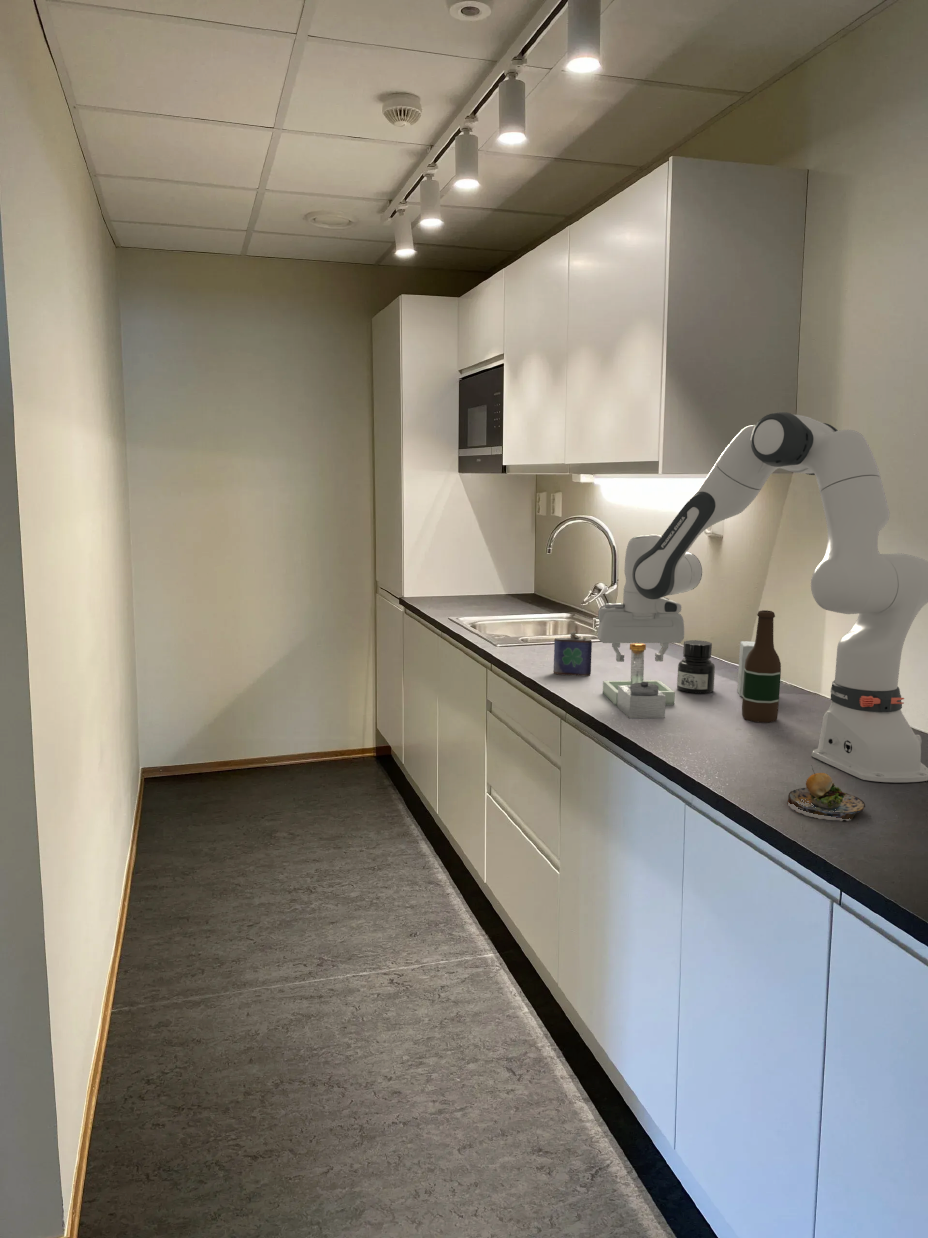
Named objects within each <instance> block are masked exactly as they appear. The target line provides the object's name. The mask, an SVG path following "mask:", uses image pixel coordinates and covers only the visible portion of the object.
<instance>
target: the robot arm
mask: <svg viewBox="0 0 928 1238" xmlns="http://www.w3.org/2000/svg"><path fill="white" fill-rule="evenodd" d="M868 443H869V442H868V441H867V440H866V437H864V435H863V434H862V433H860V432H859V431H856V430H853V429H841V430H838V428H836V427H834V426H833V425H831V424H829V423H825V422H821V421H819V420H817V419H814V418H812V417H810V416H806V415H801V414H793V413H791V412H785V411H779V412H772V413H768V414H766V415H764V416H762V418H760V419H759V420H758V421H757V422H756V424H753V425H748V426H745V427H744V428H742V429H741V430H740V431H739V432H738V433H737V434H736V435H735V436H734V438H732V440H731V441H730V442H729V444H728V445H727V446H726V447H725V449H724V450H723V451H722V453H721V454H720V456H719V457H718V459H717V461H716V462H715V464H714V465H713V467H712V468H711V470H710V472H708V474H707V476H706V478H705V479H704V480H703V482H702V483H701V485H700V486H699V487H698V488H697V490H696V491H695V492H694V494H693V495H692V496H691V497H690V498H689V500H688V501H687V502H686V503H685V505H684V506H683V507H682V508H681V509H680V511H679V512H678V514H677V515H676V516H675V517H674V518H673V520H672V522H670V524H669V525H668V527H667V528H666V530H665V531H664V532H663V534H662V535H660V534H647V535H646V534H644V535H638V536H634V537H632V538H631V539H629V541H628V543H627V546H626V550H625V556H624V558H625V559H624V570H623V571H624V578H625V584H624V586H623V593H622V594H623V595H622V596H623V597H622V599H623V601H622V603H621V602H620V603H604V605H602V606H601V607H599V608H598V611H597V614H598V615H597V618H598V619H597V620H598V621H599V622H598V626H597V627H598V629H597V639H598V640H599V642H601V643H602V644H611V647H612V649H613V651H614V652H615V654H616V657H615V660H616V662H618V663H621V662H625V659H624V658H625V654H624V653H623V652H622V653H621V651H620V650H619V648H620V647H621V644H632V643H642V644H659V646H660V649H659V651H658V652H655V653H654V661H655V662H659V663H660V662H663V661H664V655H665V653H666V652H667V650H668V649H669V644H672V643H673V644H680V643H681V642H683V640H684V639H685V621H684V618H683V616H682V614H681V612H682V604H680V603H679V602H677V601H675V600H672V599H670V598H668V597H667V596H673V595H679V594H684V593H687V592H690V591H692V590H694V589H695V588H697V587H698V586H699V584H700V583H701V580H702V578H703V577H702V576H703V568H702V562H701V561H700V560H699V558H698V557H697V556H696V555H695V554H694V553H691V552H689V549H690V548H692V546H693V544H694V543H695V541H696V540H697V539H698V538H699V537H700V535H701V534H703V532H705V531H706V530H707V529H709V528H711V527H712V526H714V525H715V524H717V523H720V522H722V521H725V520H727V519H731V518H732V517H735V516H738V515H740V514H742V513H743V512H744V511H745V510H746V509H747V508H748V507H749V506H750V504H751V503H752V502H753V501H754V500H755V499H756V498H757V497H758V495H759V494H760V492H761V491H762V489H763V487H764V485H765V484H766V482H767V481H768V479H769V478H770V476H771V475H772V474H773V473H774V472H775V471H776V470H779V469H782V470H784V471H787V472H791V473H795V474H796V473H797V474H806V475H809V476H815V478H816V479H815V480H816V483H817V486H818V487H817V488H818V490H819V492H818V493H819V495H820V499H821V505H822V508H823V512H824V517H825V518H824V519H825V523H826V528H827V529H826V530H827V532H826V533H827V540H826V541H827V542H826V547H825V548H826V549H825V552H824V556H823V557H822V560H821V561H820V562H819V564H818V565H817V566H816V567H815V569H814V570H813V573H812V576H811V579H810V589H811V590H810V592H811V594H812V597H813V599H814V601H815V602H816V604H817V605H818V606H819V607H820V608H821V609H823V610H826V611H829V612H834V613H839V614H844V615H854V614H855V615H856V614H857V615H858V616H857V618H856V620H855V623H854V624H853V626H852V627H851V628H850V630H849V631H848V632H846V633H845V634H844V635H843V636H842V637H841V638H840V639H839V640H838V644H837V647H836V648H837V649H836V658H835V659H836V660H835V674H834V680H833V681H831V682H832V683H831V687H830V700H831V701H832V702H831V704H830V706H829V708H828V709H827V710H826V711H825V713H824V714H823V717H822V721H821V722H822V723H821V729H820V735H819V741H818V746H817V748H815V749H813V750H812V753H811V757H813V758H815V759H816V760H818V761H821V762H823V763H824V764H825V763H826V764H828V765H830V766H832V767H835V768H836V769H838V770H841V771H843V772H845V773H847V774H849V775H851V776H854V777H856V778H858V779H861V780H864V781H870V782H878V783H879V782H881V783H919V782H920V783H921V782H925V781H926V782H927V781H928V767H927V765H925V764H924V763H922V762H921V760H922V747H921V746H922V736H921V735H920V734H916V733H915V732H914V730H913V729H912V727H911V725H910V723H909V722H908V721H907V719H906V717H905V715H904V714H903V712H902V708H903V704H905V702H903V701H904V700H905V698H904V697H902V695H901V691H900V690H901V689H900V687H899V686H898V684H899V675H900V667H901V659H902V652H903V647H904V643H905V641H906V638H907V635H908V633H909V631H910V628H911V626H912V624H913V622H914V621H915V619H916V617H917V615H918V614H919V612H920V611H921V610H922V608H924V606H925V605H927V604H928V559H925V558H923V557H919V556H915V555H912V554H907V553H899V552H897V553H880V551H879V546H878V539H879V533H880V531H882V530H883V529H884V528H885V527H886V526H887V524H888V523H889V520H890V518H891V517H890V516H891V513H890V508H889V505H888V501H887V497H886V493H885V489H884V485H883V481H882V477H881V474H880V471H879V468H878V464H877V462H876V459H875V456H874V453H873V452H872V449H871V446H870V445H869V444H868ZM902 700H903V701H902Z"/></svg>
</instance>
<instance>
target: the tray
mask: <svg viewBox="0 0 928 1238" xmlns="http://www.w3.org/2000/svg"><path fill="white" fill-rule="evenodd" d="M643 682H648V683H650V684H655V685H657V686H658V690H659V691H660V692H662V693H663V694H664V695H665V696H666V702H665V706H667V705H669V706H670V705H675V701H676V700H675V698H676V696H675V694H676V691H674V690H673V689H672V688H670V687H669V686H667V685H666V684H664V682H662V681H661V680H659V679H658V680H651V679H650V680H647V679H646V680H643ZM618 686H631V680H603V681H602V694H603V695H604V696H605V697H606V698H607V699H609V700H610V702H612V704H614V706H617V701H618Z"/></svg>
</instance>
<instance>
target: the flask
mask: <svg viewBox="0 0 928 1238" xmlns="http://www.w3.org/2000/svg"><path fill="white" fill-rule="evenodd" d="M576 633H577V631H576V630H575V631H570V632H569V634H570V635H569V637H555V638H554V640H553V641H554V646H553V647H554V650H553V652H554V653H553V674H554V675H560V676H562V675H564V676H576V677H577V676H582V677H583V676H584V677H590V676H591V673H592V652H593V650H592V649H593V648H592V647H593V642H592V639H590V638H586V637H585V636H579V635H577V634H576Z"/></svg>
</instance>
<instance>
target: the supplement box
mask: <svg viewBox="0 0 928 1238" xmlns="http://www.w3.org/2000/svg"><path fill="white" fill-rule="evenodd" d="M754 644H755V641H749V640H747V641H743V640H742V641H740V643H739V656H738V657H739V659H738V670H737V671H738V672H737V673H738V675H737V689H736V691H737V693H738V694H739V697H741V698H743V683H744V668H745V661H746V658H747V656H748V653H749V652H750V651H751V650H752V648H753V647H754Z"/></svg>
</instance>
